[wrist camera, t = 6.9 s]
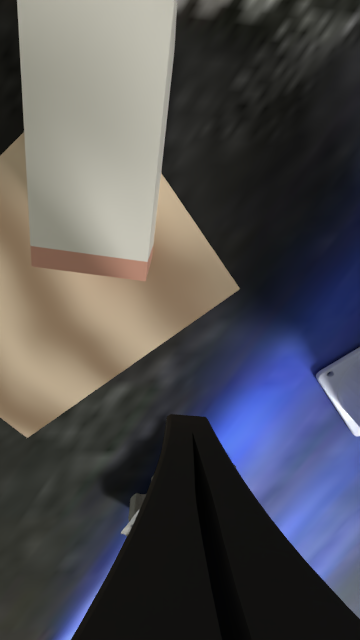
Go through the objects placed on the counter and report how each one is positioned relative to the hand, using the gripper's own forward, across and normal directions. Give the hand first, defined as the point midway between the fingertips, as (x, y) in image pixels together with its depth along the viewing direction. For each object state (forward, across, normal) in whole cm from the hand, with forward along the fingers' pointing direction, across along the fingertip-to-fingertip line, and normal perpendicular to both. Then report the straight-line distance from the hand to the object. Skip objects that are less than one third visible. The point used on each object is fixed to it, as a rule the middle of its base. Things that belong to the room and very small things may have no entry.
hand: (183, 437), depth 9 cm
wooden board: (+10, +8, -1) cm, 13 cm away
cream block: (+7, +4, -4) cm, 9 cm away
